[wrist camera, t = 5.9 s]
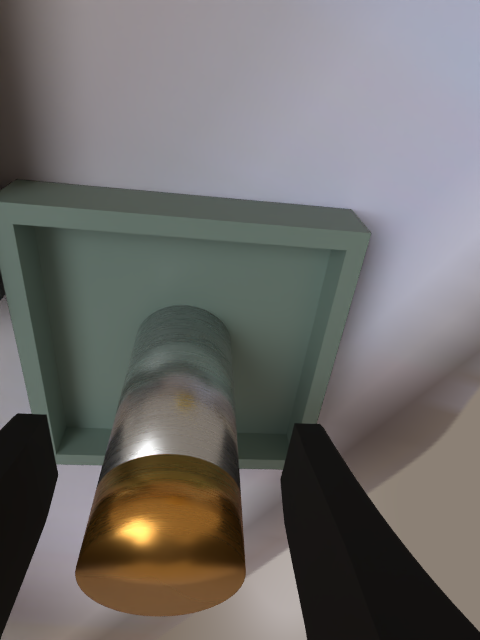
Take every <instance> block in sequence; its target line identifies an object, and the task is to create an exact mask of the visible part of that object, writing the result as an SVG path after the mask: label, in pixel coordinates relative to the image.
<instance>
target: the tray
mask: <svg viewBox="0 0 480 640" xmlns="http://www.w3.org/2000/svg"><path fill="white" fill-rule="evenodd" d="M370 236H371V232H370V231H369V230H368V229H367V228H366V226H365V225H364V224H363V223H362V222H361V220H360V219H359V218H358V217H357V216H356V215H355V213H354V212H353V211H352V210H351V209H341V208H330V207H319V206H308V205H296V204H285V203H274V202H263V201H252V200H241V199H230V198H218V197H207V196H196V195H185V194H174V193H163V192H152V191H140V190H129V189H118V188H107V187H96V186H85V185H73V184H62V183H51V182H40V181H29V180H18V179H16V180H15V181H13V182H12V183H10V184H9V185H7V186H6V187H5V188H3V189H2V190H0V270H1V275H2V279H3V284H4V289H5V293H6V298H7V302H8V307H9V312H10V316H11V321H12V325H13V330H14V334H15V339H16V344H17V348H18V353H19V357H20V362H21V367H22V371H23V376H24V380H25V385H26V390H27V394H28V399H29V403H30V408H31V412H32V414H47V419H48V424H49V429H50V435H51V440H52V445H53V450H54V455H55V461H56V464H65V465H103V462H104V458H105V454H106V450H107V446H108V442H109V438H110V435H111V431H112V427H113V423H114V419H115V415H116V411H117V408H118V404H119V400H120V396H121V392H122V388H123V384H124V381H125V377H126V373H127V369H128V365H129V361H130V357H131V354H132V350H133V346H134V342H135V338H136V334H137V331H138V329H139V327H140V325H141V324H142V322H143V321H144V320H145V319H146V318H147V317H148V316H149V315H151V314H152V313H154V312H155V311H157V310H159V309H162V308H165V307H169V306H174V305H190V306H195V307H199V308H202V309H205V310H207V311H209V312H210V313H212V314H214V315H215V316H216V317H218V318H219V319H220V320H221V321H222V322H223V324H224V325H225V327H226V328H227V330H228V332H229V335H230V339H231V351H232V367H233V382H234V398H235V413H236V428H237V444H238V459H239V469H281V470H283V467H284V463H285V459H286V455H287V451H288V447H289V443H290V439H291V435H292V431H293V427H294V423H305V424H317V420H318V417H319V413H320V410H321V406H322V403H323V399H324V396H325V392H326V389H327V385H328V382H329V378H330V375H331V371H332V368H333V364H334V361H335V358H336V354H337V351H338V347H339V344H340V340H341V337H342V333H343V330H344V326H345V323H346V319H347V316H348V312H349V309H350V305H351V302H352V298H353V295H354V291H355V288H356V285H357V281H358V278H359V274H360V271H361V267H362V264H363V260H364V257H365V253H366V250H367V246H368V243H369V239H370Z"/></svg>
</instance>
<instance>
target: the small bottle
mask: <svg viewBox="0 0 480 640" xmlns="http://www.w3.org/2000/svg"><path fill="white" fill-rule="evenodd" d="M245 575H246V567H245V552H244V537H243V521H242V506H241V490H240V475H239V459H238V444H237V428H236V413H235V398H234V382H233V367H232V351H231V339H230V335H229V332H228V330H227V328H226V327H225V325H224V324H223V322H222V321H221V320H220V319H219V318H218V317H216V316H215V315H214V314H212V313H210V312H209V311H207V310H205V309H202V308H199V307H195V306H190V305H174V306H169V307H165V308H162V309H159V310H157V311H155V312H154V313H152V314H151V315H149V316H148V317H147V318H146V319H145V320H144V321H143V322H142V324H141V325H140V327H139V329H138V331H137V334H136V338H135V342H134V346H133V350H132V354H131V357H130V361H129V365H128V369H127V373H126V377H125V381H124V384H123V388H122V392H121V396H120V400H119V404H118V408H117V411H116V415H115V419H114V423H113V427H112V431H111V435H110V438H109V442H108V446H107V450H106V454H105V458H104V462H103V466H102V469H101V473H100V477H99V481H98V485H97V489H96V493H95V496H94V500H93V504H92V508H91V512H90V516H89V520H88V523H87V527H86V531H85V535H84V539H83V543H82V547H81V550H80V554H79V558H78V562H77V566H76V571H75V576H76V581H77V583H78V585H79V587H80V588H81V590H82V591H83V592H84V593H85V594H86V595H87V596H88V597H90V598H91V599H92V600H94V601H96V602H97V603H99V604H101V605H103V606H106V607H108V608H111V609H114V610H117V611H121V612H124V613H129V614H135V615H143V616H176V615H184V614H189V613H194V612H198V611H202V610H205V609H208V608H211V607H213V606H215V605H218V604H220V603H222V602H224V601H226V600H227V599H228V598H230V597H231V596H233V595H234V594H235V593H236V592H237V591H238V590H239V588H240V587H241V586H242V584H243V582H244V579H245Z"/></svg>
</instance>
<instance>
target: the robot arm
mask: <svg viewBox="0 0 480 640" xmlns="http://www.w3.org/2000/svg"><path fill="white" fill-rule="evenodd" d="M57 478H58V471H57V466H56V461H55V455H54V450H53V445H52V440H51V435H50V429H49V424H48V419H47V414H16V415H15V416H14V417H13V418H12V419H11V420H10V421H9V422H8V423H7V424H6V425H5V426H4V427H3V428H2V429H1V430H0V639H1V636H2V633H3V631H4V628H5V626H6V623H7V621H8V618H9V615H10V613H11V610H12V608H13V605H14V603H15V600H16V597H17V595H18V592H19V590H20V587H21V585H22V582H23V580H24V577H25V574H26V572H27V569H28V567H29V564H30V562H31V559H32V556H33V554H34V551H35V549H36V546H37V543H38V541H39V538H40V536H41V533H42V530H43V528H44V525H45V522H46V519H47V516H48V512H49V508H50V505H51V501H52V497H53V493H54V489H55V485H56V481H57ZM281 491H282V503H283V513H284V523H285V528H286V534H287V539H288V544H289V549H290V554H291V559H292V564H293V569H294V574H295V579H296V584H297V589H298V594H299V599H300V603H301V609H302V614H303V618H304V624H305V629H306V635H307V640H480V632H479V631H478V630H477V629H476V628H475V627H474V625H473V624H472V623H471V622H470V621H469V620H468V619H467V618H466V617H465V616H464V615H463V613H462V612H461V611H460V610H459V609H458V608H457V607H456V606H455V605H454V604H453V603H452V602H451V600H450V599H449V598H448V597H447V596H446V595H445V593H444V592H443V591H442V590H441V589H440V588H439V587H438V586H437V584H436V583H435V582H434V581H433V580H432V579H431V577H430V576H429V575H428V574H427V573H426V571H425V570H424V569H423V568H422V567H421V565H420V564H419V563H418V562H417V560H416V559H415V558H414V557H413V556H412V554H411V553H410V552H409V550H408V549H407V548H406V547H405V545H404V544H403V543H402V542H401V540H400V539H399V538H398V536H397V535H396V534H395V533H394V531H393V530H392V529H391V527H390V526H389V525H388V524H387V522H386V521H385V519H384V518H383V517H382V515H381V514H380V513H379V511H378V510H377V508H376V507H375V505H374V504H373V502H372V501H371V500H370V498H369V497H368V496H367V494H366V493H365V491H364V490H363V488H362V487H361V485H360V484H359V483H358V481H357V480H356V478H355V477H354V475H353V474H352V472H351V471H350V469H349V468H348V466H347V464H346V463H345V461H344V460H343V458H342V457H341V455H340V454H339V452H338V450H337V449H336V447H335V446H334V444H333V442H332V441H331V439H330V438H329V436H328V434H327V433H326V431H325V430H324V428H323V427H322V426H321V425H320V424H305V423H294V427H293V431H292V435H291V439H290V443H289V447H288V451H287V455H286V459H285V463H284V467H283V472H282V476H281Z"/></svg>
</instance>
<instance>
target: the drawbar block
mask: <svg viewBox="0 0 480 640" xmlns="http://www.w3.org/2000/svg"><path fill="white" fill-rule="evenodd" d="M5 294H6V293H5V289H4V284H3V279H2V275H1V270H0V300H1V299H2V298H3V296H4V295H5Z"/></svg>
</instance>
